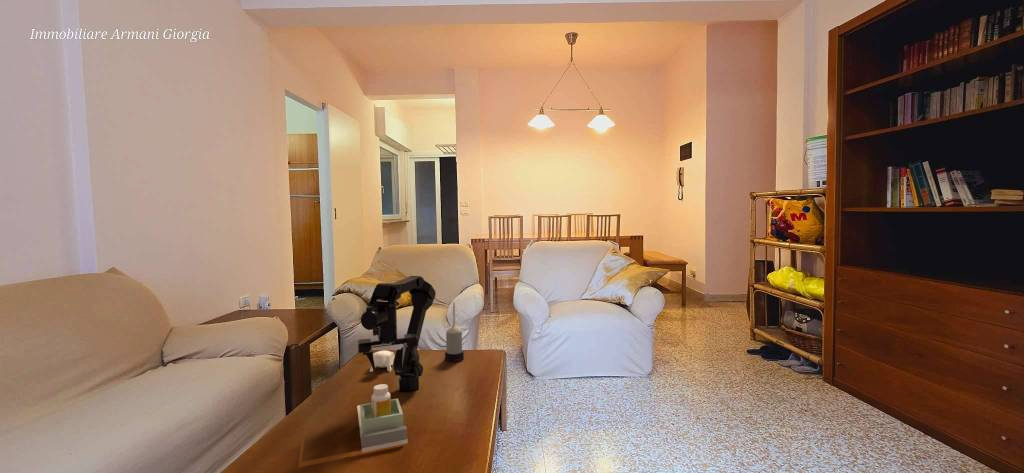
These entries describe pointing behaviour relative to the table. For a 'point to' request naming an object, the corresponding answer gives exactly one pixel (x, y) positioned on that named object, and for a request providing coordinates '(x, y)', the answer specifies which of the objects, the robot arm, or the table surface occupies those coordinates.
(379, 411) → the supplement bottle
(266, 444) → the table surface
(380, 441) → the board
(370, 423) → the sage green storage bin
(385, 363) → the white animal figurine
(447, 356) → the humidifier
